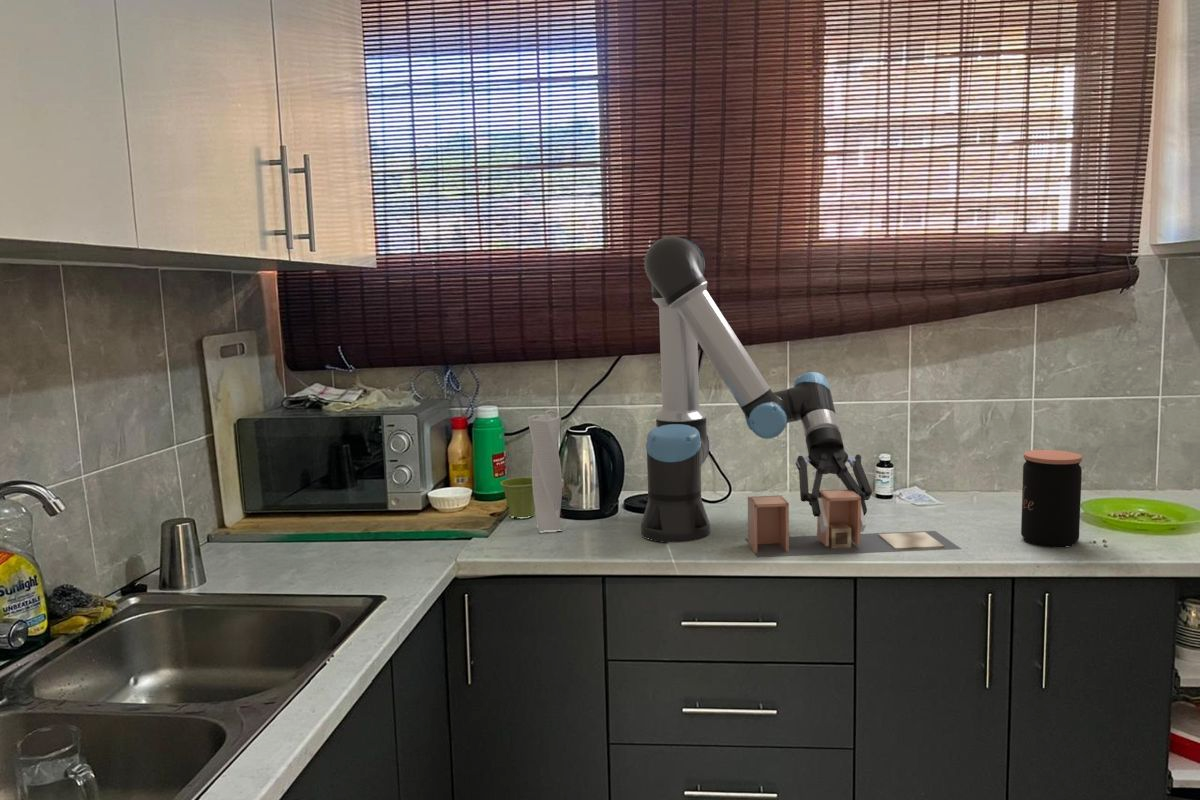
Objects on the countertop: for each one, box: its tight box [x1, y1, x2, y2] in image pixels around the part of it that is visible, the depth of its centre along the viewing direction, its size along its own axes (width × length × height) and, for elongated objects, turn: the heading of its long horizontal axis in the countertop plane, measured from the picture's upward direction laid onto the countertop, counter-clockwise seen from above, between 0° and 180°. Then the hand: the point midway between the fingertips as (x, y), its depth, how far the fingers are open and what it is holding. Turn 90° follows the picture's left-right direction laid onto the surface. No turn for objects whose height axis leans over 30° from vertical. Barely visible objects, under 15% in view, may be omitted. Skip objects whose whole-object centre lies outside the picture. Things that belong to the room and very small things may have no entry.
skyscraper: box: [527, 409, 563, 532], centre depth 200 cm, size 8×8×28 cm
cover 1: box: [747, 495, 790, 554], centre depth 181 cm, size 7×6×10 cm
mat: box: [744, 530, 962, 558], centre depth 183 cm, size 41×13×1 cm, turn 92°
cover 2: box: [816, 489, 862, 546], centre depth 182 cm, size 7×6×10 cm
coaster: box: [878, 531, 945, 550], centre depth 183 cm, size 10×10×1 cm
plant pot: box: [500, 477, 536, 517], centre depth 214 cm, size 9×9×9 cm
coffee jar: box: [1020, 449, 1083, 548], centre depth 180 cm, size 11×11×18 cm
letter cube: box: [829, 523, 851, 548], centre depth 182 cm, size 4×4×4 cm
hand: (843, 528), depth 178 cm, fingers closed on cover 2, 7 cm apart
